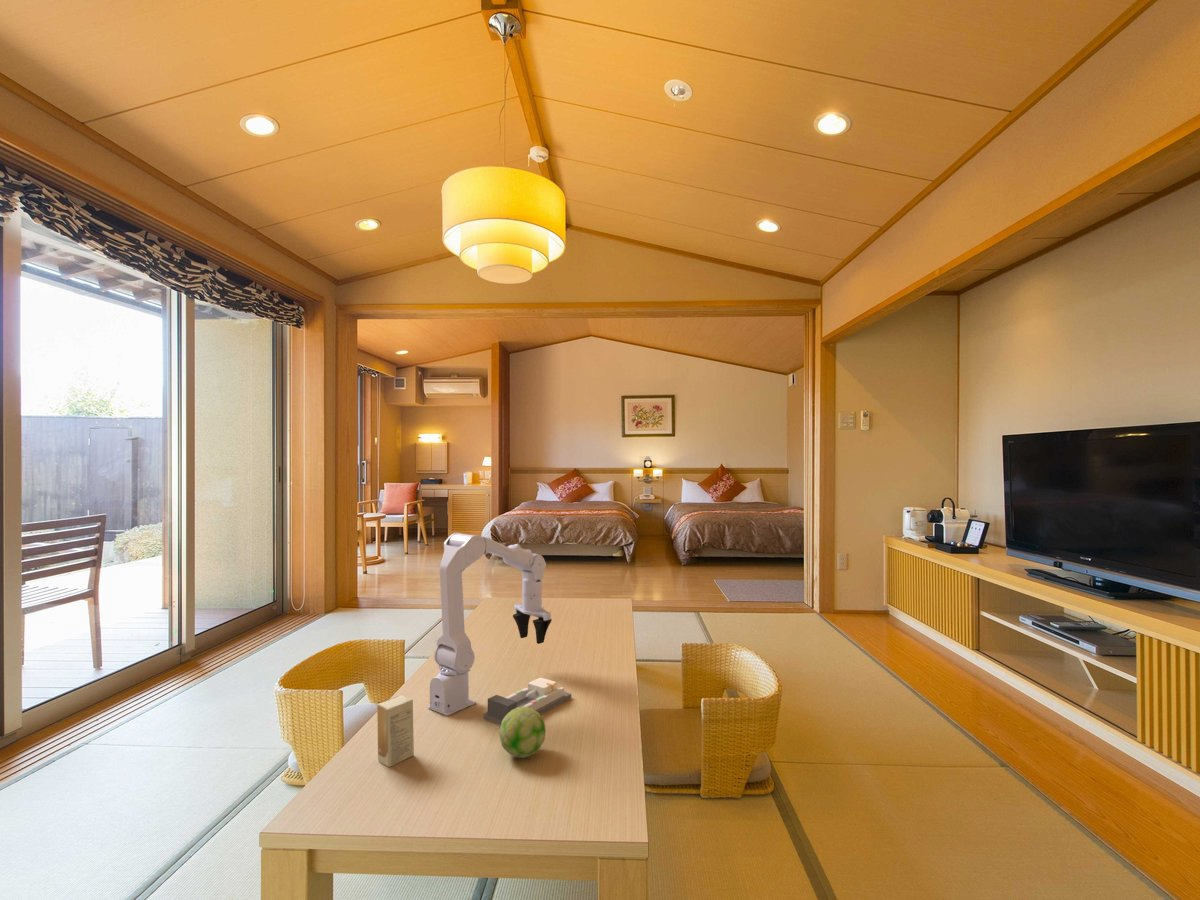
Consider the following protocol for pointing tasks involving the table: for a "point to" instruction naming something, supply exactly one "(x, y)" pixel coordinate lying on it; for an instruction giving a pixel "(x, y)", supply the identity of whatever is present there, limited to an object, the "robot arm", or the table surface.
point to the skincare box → (395, 730)
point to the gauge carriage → (540, 688)
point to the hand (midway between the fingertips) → (531, 640)
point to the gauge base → (523, 703)
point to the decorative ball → (522, 732)
